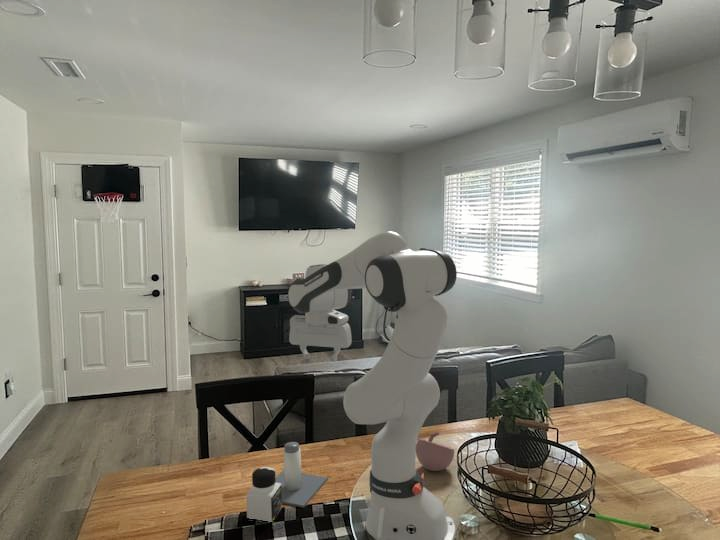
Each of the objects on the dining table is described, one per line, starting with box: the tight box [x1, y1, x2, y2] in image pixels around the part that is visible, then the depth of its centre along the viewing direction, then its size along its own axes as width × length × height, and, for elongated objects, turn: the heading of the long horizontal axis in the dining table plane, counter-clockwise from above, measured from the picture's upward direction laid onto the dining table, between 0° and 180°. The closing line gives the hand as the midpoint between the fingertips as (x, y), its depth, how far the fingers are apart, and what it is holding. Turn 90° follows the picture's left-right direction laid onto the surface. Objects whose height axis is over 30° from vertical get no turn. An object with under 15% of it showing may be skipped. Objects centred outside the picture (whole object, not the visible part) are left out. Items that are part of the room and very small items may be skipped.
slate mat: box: [275, 469, 329, 508], centre depth 140 cm, size 15×16×1 cm
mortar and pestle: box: [416, 431, 455, 472], centre depth 150 cm, size 12×12×11 cm
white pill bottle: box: [282, 441, 302, 491], centre depth 140 cm, size 5×5×12 cm
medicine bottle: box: [245, 466, 283, 523], centre depth 127 cm, size 7×7×12 cm
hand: (320, 359), depth 150 cm, fingers open, 8 cm apart
